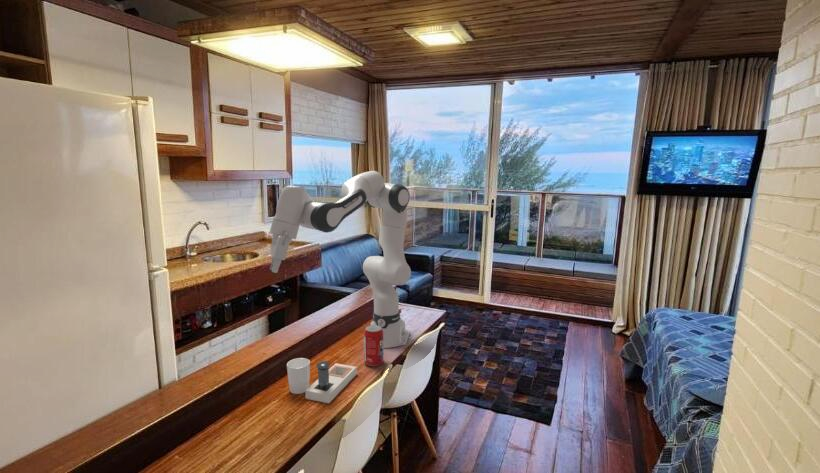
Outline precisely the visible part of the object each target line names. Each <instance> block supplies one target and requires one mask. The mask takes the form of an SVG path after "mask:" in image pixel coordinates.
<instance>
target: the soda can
mask: <svg viewBox="0 0 820 473" xmlns="http://www.w3.org/2000/svg"><path fill="white" fill-rule="evenodd" d="M384 349H385V348H384V346H383V330H382V328H381V327H380V326H378V325H371V324H370V325H368V326H366V327H365V329H364V331H363V362H364V364H365V365H366V366H370V367H378V366H380V365H382V364H383V363H384V358H385V357H384V355H385V354H384Z"/></svg>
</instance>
